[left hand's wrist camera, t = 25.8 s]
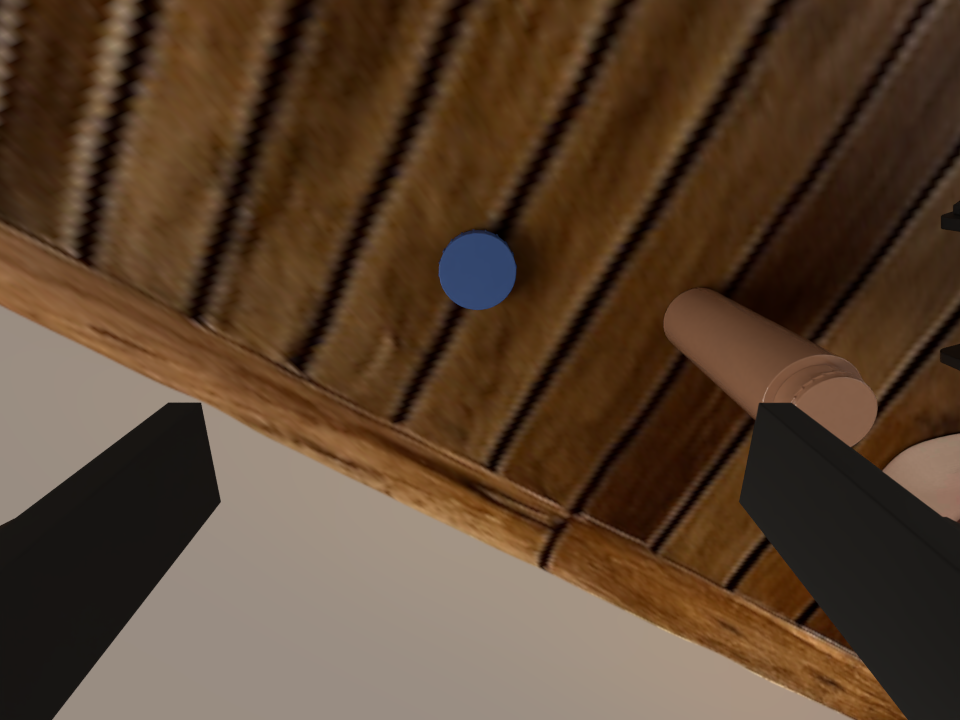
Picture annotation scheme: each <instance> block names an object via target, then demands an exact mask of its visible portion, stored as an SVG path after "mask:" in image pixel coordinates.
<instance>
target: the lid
mask: <svg viewBox="0 0 960 720" xmlns="http://www.w3.org/2000/svg"><path fill="white" fill-rule="evenodd" d="M513 256H514V254H513V252H511V250H510V248H509V247H508V244H507V242H504V241H503V240H502V239H501V238H500V237H498V234H496V235H495V234H493V233H491V232H488V231H486V230H485V231H483V230H474V229H473V230H472V231H468V232H465V233H463V232H462V233H461V234H460V235H458V236H457V237H455V238H454V239H451V241H450V243H449V244H448V246H447V247H446V249H445V248H444V250H443V255H442V258H441V259H440V262H439V264H440V266H439V277H440V282H441V285H442V288H443V289H444V291H445V292H446V294H447V295H448V296H449V298H450V299H451V300H453V301H454V302H455V303H457V304H458V305H460V306H462V307H465V308H468V309H473V310H482V309H488V308H491V307H493V306H495V305H497V304H499V303H500V302H502V301H503V300H504V299H505V298H506V297H507V296H508V294H509V293H510V291H511V290H512V288H513V285H514V283H515V280H516V268H517V266H516V263H515V260H514V257H513Z"/></svg>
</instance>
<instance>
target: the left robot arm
mask: <svg viewBox="0 0 960 720" xmlns="http://www.w3.org/2000/svg"><path fill="white" fill-rule="evenodd" d="M220 502H221V500H220V495H219V490H218V485H217V480H216V476H215V470H214V465H213V460H212V455H211V450H210V445H209V440H208V436H207V430H206V425H205V420H204V415H203V410H202V405H201V403H167V404H166V405H165V406H163V407H162V408H161V409H159V410H158V411H157V412H155V413H154V414H153V415H151V416H150V417H149V418H147V419H146V420H145V421H144V422H142V423H141V424H140V425H138V426H137V427H136V428H134V429H133V430H132V431H130V432H129V433H128V434H126V435H125V436H124V437H122V438H121V439H120V440H118V441H117V442H116V443H114V444H113V445H112V446H110V447H109V448H108V449H106V450H105V451H104V452H102V453H101V454H100V455H99V456H97V457H96V458H95V459H93V460H92V461H91V462H89V463H88V464H87V465H85V466H84V467H83V468H81V469H80V470H79V471H77V472H76V473H75V474H73V475H72V476H71V477H69V478H68V479H67V480H65V481H64V482H63V483H61V484H60V485H59V486H57V487H56V488H55V489H53V490H52V491H51V492H50V493H48V494H47V495H46V496H44V497H43V498H42V499H40V500H39V501H38V502H36V503H35V504H34V505H32V506H31V507H30V508H28V509H27V510H26V511H24V512H23V513H22V514H20V515H19V516H18V517H16V518H15V519H13V520H11V521H9V522H7V523H5V524H3V525H1V526H0V720H52V719H53V718H54V717H55V715H56V714H57V713H58V711H59V710H60V709H61V707H62V706H63V705H64V704H65V702H66V701H67V700H68V698H69V697H70V696H71V695H72V693H73V692H74V691H75V689H76V688H77V687H78V686H79V684H80V683H81V682H82V680H83V679H84V678H85V677H86V675H87V674H88V673H89V671H90V670H91V669H92V668H93V666H94V665H95V664H96V662H97V661H98V660H99V658H100V657H101V656H102V655H103V653H104V652H105V651H106V649H107V648H108V647H109V646H110V644H111V643H112V642H113V640H114V639H115V638H116V636H117V635H118V634H119V633H120V631H121V630H122V629H123V627H124V626H125V625H126V624H127V622H128V621H129V620H130V618H131V617H132V616H133V615H134V613H135V612H136V611H137V609H138V608H139V607H140V606H141V604H142V603H143V602H144V600H145V599H146V598H147V596H148V595H149V594H150V593H151V591H152V590H153V589H154V587H155V586H156V585H157V584H158V582H159V581H160V580H161V578H162V577H163V576H164V575H165V573H166V572H167V571H168V569H169V568H170V567H171V566H172V564H173V563H174V562H175V560H176V559H177V558H178V557H179V555H180V554H181V553H182V551H183V550H184V549H185V547H186V546H187V545H188V544H189V542H190V541H191V540H192V538H193V537H194V536H195V534H196V533H197V532H198V531H199V529H200V528H201V527H202V525H203V524H204V523H205V522H206V520H207V519H208V518H209V517H210V515H211V514H212V513H213V511H214V510H215V509H216V507H217V506H218V505H219V504H220ZM739 502H740V504H741V505H742V506H743V507H744V509H745V510H746V511H747V513H748V514H749V515H750V517H751V518H752V519H753V520H754V522H755V523H756V524H757V526H758V527H759V528H760V529H761V531H762V532H763V533H764V535H765V536H766V537H767V538H768V540H769V541H770V542H771V544H772V545H773V546H774V547H775V549H776V550H777V551H778V553H779V554H780V555H781V557H782V558H783V559H784V560H785V562H786V563H787V564H788V566H789V567H790V568H791V569H792V571H793V572H794V573H795V575H796V576H797V577H798V578H799V580H800V581H801V582H802V584H803V585H804V586H805V587H806V589H807V590H808V591H809V593H810V594H811V595H812V597H813V598H814V599H815V600H816V602H817V603H818V604H819V606H820V607H821V608H822V609H823V611H824V612H825V613H826V615H827V616H828V617H829V618H830V620H831V621H832V622H833V624H834V625H835V626H836V628H837V629H838V630H839V631H840V633H841V634H842V635H843V637H844V638H845V639H846V640H847V642H848V643H849V644H850V646H851V647H852V648H853V649H854V651H855V652H856V653H857V655H858V656H859V657H860V658H861V660H862V661H863V662H864V664H865V665H866V666H867V668H868V669H869V670H870V671H871V673H872V674H873V675H874V677H875V678H876V679H877V680H878V682H879V683H880V684H881V686H882V687H883V688H884V689H885V691H886V692H887V693H888V695H889V696H890V697H891V698H892V700H893V701H894V702H895V704H896V705H897V706H898V708H899V709H900V710H901V711H902V713H903V714H904V715H905V717H906V718H907V719H908V720H960V523H958V522H956V521H954V520H952V519H950V518H948V517H942V516H941V515H940V514H938V513H937V512H936V511H934V510H933V509H932V508H930V507H929V506H928V505H926V504H925V503H924V502H922V501H921V500H920V499H918V498H917V497H916V496H914V495H913V494H912V493H911V492H909V491H908V490H907V489H905V488H904V487H903V486H901V485H900V484H899V483H897V482H896V481H895V480H893V479H892V478H891V477H889V476H888V475H887V474H885V473H884V472H883V471H881V470H880V469H879V468H877V467H876V466H875V465H873V464H872V463H871V462H869V461H868V460H867V459H865V458H864V457H863V456H862V455H860V454H859V453H858V452H856V451H855V450H854V449H852V448H851V447H850V446H848V445H847V444H846V443H844V442H843V441H842V440H840V439H839V438H838V437H836V436H835V435H834V434H832V433H831V432H830V431H828V430H827V429H826V428H824V427H823V426H822V425H820V424H819V423H818V422H816V421H815V420H814V419H813V418H811V417H810V416H809V415H807V414H806V413H805V412H803V411H802V410H801V409H799V408H798V407H797V406H795V405H794V404H793V403H759V405H758V410H757V415H756V420H755V425H754V430H753V435H752V440H751V445H750V450H749V455H748V460H747V465H746V470H745V475H744V480H743V485H742V490H741V495H740V500H739Z"/></svg>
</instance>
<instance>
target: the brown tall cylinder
mask: <svg viewBox="0 0 960 720" xmlns="http://www.w3.org/2000/svg"><path fill="white" fill-rule="evenodd" d="M664 331H665V334H666V336H667V338H668V340H669V341H670V342H671V343H672V344H673V345H674V346H675V347H676V348H677V349H678V350H679V351H680V352H681V353H683V354H684V355H685V356H686V357H687V358H688V359H689V360H690V361H691V362H692V363H693V364H695V365H696V366H697V367H698V368H699V369H700V370H701V371H702V372H703V373H704V374H705V375H706V376H708V377H709V378H710V379H711V380H712V381H713V382H714V383H715V384H716V385H717V386H718V387H720V388H721V389H722V390H723V391H724V392H725V393H726V394H727V395H728V396H729V397H730V398H732V399H733V400H734V401H735V402H736V403H737V404H738V405H739V406H740V407H741V408H742V409H743V410H745V411H746V412H747V413H748V414H749V415H750V416H751V417H752V418H753V419H754V420H756V415H757V410H758V405H759V403H793V404H794V405H795V406H797V407H798V408H799V409H801V410H802V411H803V412H805V413H806V414H807V415H809V416H810V417H811V418H813V419H814V420H815V421H816V422H818V423H819V424H820V425H822V426H823V427H824V428H826V429H827V430H828V431H830V432H831V433H832V434H834V435H835V436H836V437H838V438H839V439H840V440H842V441H843V442H844V443H846V444H847V445H848V446H850V447H852V446H853V445H855V444H856V443H858V442H859V441H860V440H861V439H862V438H863V437H864V436H865V435H866V434H867V433H868V432H869V430H870V429H871V427H872V425H873V424H874V421H875V419H876V415H877V400H876V397H875V394H874V393H873V391H872V389H871V388H870V387H869V386H868V385H867V384H866V383H864V380H862V377H861V375H860V373H859V371H858V370H857V369H856V368H855V366H854V365H852V364H851V363H850V362H849V361H847V360H845V359H843V358H841V357H840V356H838V355H836V354H834V353H832V352H830V351H828V350H826V349H824V348H822V347H821V346H819V345H817V344H815V343H813V342H811V341H809V340H807V339H805V338H803V337H802V336H800V335H798V334H796V333H794V332H792V331H790V330H788V329H786V328H784V327H783V326H781V325H779V324H777V323H775V322H773V321H771V320H769V319H767V318H765V317H764V316H762V315H760V314H758V313H756V312H754V311H752V310H750V309H748V308H746V307H745V306H743V305H741V304H739V303H737V302H735V301H733V300H731V299H729V298H727V297H726V296H724V295H722V294H720V293H718V292H716V291H714V290H711V289H708V288H695V289H691V290H688V291H686V292H684V293H682V294H680V295H679V296H678V297H676V298H675V299H674V300H673V301H672V303H671V304H670V305H669V307H668V309H667V311H666V313H665V317H664Z"/></svg>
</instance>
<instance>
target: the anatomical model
mask: <svg viewBox="0 0 960 720" xmlns="http://www.w3.org/2000/svg"><path fill="white" fill-rule="evenodd" d="M883 472H884V473H885V474H887V475H888V476H889V477H891V478H892V479H893V480H895V481H896V482H897V483H899V484H900V485H901V486H903V487H904V488H905V489H907V490H908V491H909V492H911V493H912V494H913V495H914V496H916V497H917V498H918V499H920V500H921V501H922V502H924V503H925V504H926V505H928V506H929V507H930V508H932V509H933V510H934V511H936V512H937V513H938V514H940V515H941V516H942V517H948V518H950V519H952V520H954V521H956V522H958V523H960V434H954V435H949V436H944V437H939V438H935V439H932V440H928V441H925V442H922V443H919V444H917V445H914V446H912V447H910V448H908V449H906V450H905V451H903V452H901V453H900V454H899V455H898V456H896V457H895V458H894V459H893V460H892V461H891V462H890V463H889V464H888V465H887V466H886V467H885V468H884V470H883Z"/></svg>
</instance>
